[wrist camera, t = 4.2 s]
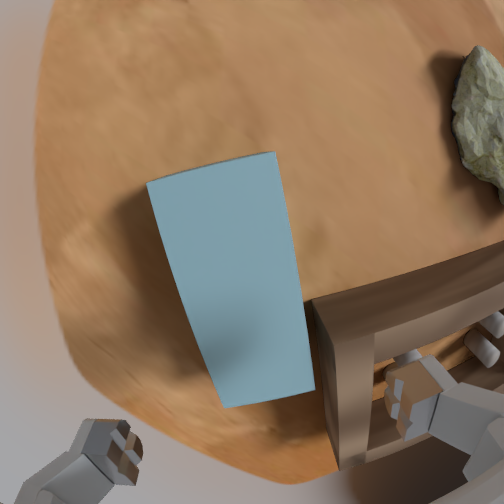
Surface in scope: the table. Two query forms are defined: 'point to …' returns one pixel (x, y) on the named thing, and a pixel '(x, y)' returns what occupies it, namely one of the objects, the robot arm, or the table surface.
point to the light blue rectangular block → (237, 275)
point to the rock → (480, 117)
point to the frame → (404, 343)
